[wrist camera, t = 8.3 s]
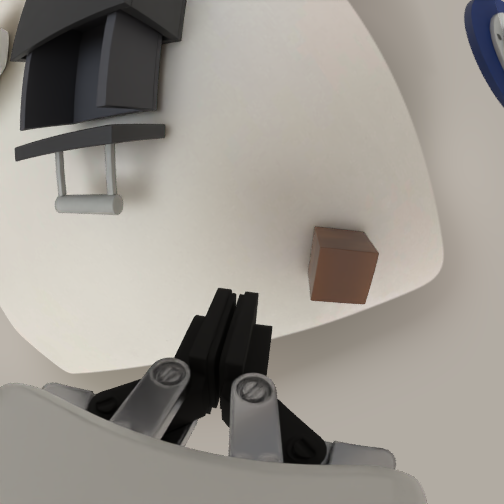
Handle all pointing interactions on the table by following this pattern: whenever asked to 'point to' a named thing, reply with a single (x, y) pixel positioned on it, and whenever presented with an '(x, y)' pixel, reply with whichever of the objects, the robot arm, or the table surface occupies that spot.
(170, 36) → the dark drawer cabinet
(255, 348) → the robot arm
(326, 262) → the block
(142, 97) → the pull-out drawer
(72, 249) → the table surface
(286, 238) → the table surface
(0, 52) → the bowl
